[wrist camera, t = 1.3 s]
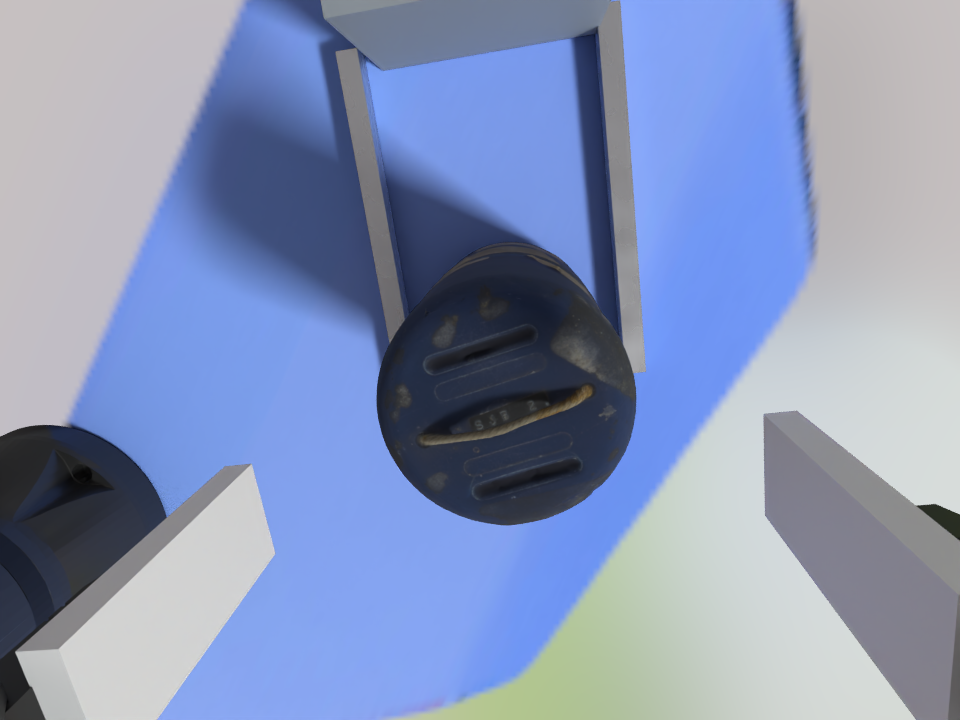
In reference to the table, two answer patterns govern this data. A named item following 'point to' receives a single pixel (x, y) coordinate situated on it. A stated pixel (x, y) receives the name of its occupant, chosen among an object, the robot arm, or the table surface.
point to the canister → (507, 389)
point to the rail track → (616, 175)
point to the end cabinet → (456, 26)
